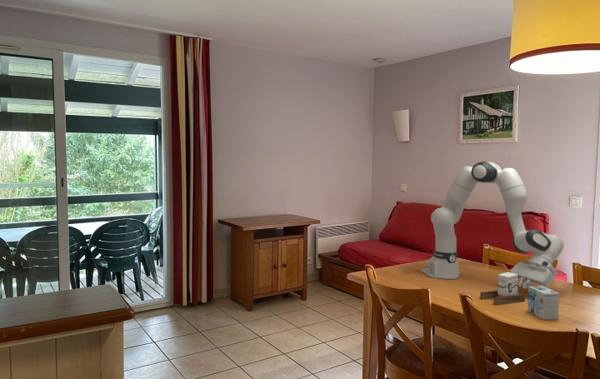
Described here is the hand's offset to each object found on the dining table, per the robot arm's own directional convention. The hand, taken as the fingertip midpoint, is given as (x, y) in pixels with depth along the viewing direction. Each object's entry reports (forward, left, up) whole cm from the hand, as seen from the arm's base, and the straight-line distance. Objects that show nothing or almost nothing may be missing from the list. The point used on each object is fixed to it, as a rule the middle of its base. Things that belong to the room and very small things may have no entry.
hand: (521, 287), depth 199 cm
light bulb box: (+21, -10, -5) cm, 24 cm away
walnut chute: (0, -11, -5) cm, 12 cm away
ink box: (0, -8, -5) cm, 10 cm away
